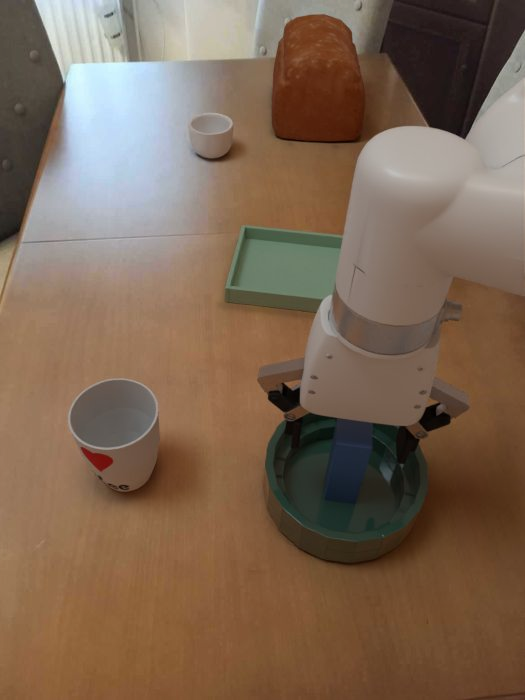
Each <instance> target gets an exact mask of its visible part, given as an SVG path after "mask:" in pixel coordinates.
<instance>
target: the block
mask: <svg viewBox="0 0 525 700" xmlns="http://www.w3.org/2000/svg"><path fill="white" fill-rule="evenodd" d="M372 435H373V423H371V422H363V421H356V420H349V419H342V418H337V422H336V427H335V431H334V436H333V441H332V446H331V451H330V456H329V460H328V465H327V470H326V480H325V493H324V499H326V500H333V501H340V502H348V503H356V501H357V498H358V495H359V491H360V488H361V484H362V481H363V478H364V474H365V471H366V468H367V464H368V461H369V458H370V454H371V451H372Z"/></svg>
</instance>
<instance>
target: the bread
mask: <svg viewBox="0 0 525 700" xmlns="http://www.w3.org/2000/svg"><path fill="white" fill-rule="evenodd" d="M359 61H360V60H359V57H358V52H357V47H356V43H354V42H353V32H352V30H351V28H350V27H349V26H348V25H347V23H345V22H344V20H342V19H340V18H337V17H335V16H331V15H328V14H326V13H318V14H317V13H316V14H314V13H313V14H306V15H301V16H300V15H299V16H296V17H294V18H293V19H291V20H289V21H288V22H286V23H285V25H284V28H283V34H282V38H281V39H280V40H278V43H277V49H276V53H275V59H274V64H273V71H272V89H271V90H272V91H271V92H272V93H271V125H272V126H271V127H272V130H273V132H274V135H275V136H277V137H279V138H281V139H289V140H297V141H305V142H306V141H307V142H348V141H355V140H356V139H358V138H359V137H360V136H361V134H362V130H363V128H364V119H365V110H366V88H365V83H364V79H363V76H362V72H361V65H360V62H359Z"/></svg>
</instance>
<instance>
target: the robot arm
mask: <svg viewBox="0 0 525 700" xmlns="http://www.w3.org/2000/svg"><path fill="white" fill-rule="evenodd" d="M342 235H343V239H342V245H341V250H340V256H339V261H338V267H337V273H336V279H335V284H334V289H333V295H329V296H327V297H326V298H325V299H324V300H323V301H322V303H321V305H320V306H319V309H318V311H317V312H315V316H314V319H313V320H312V324H311V327H310V329H309V330H310V331H309V334H308V338H307V342H306V346H305V351H304V356H303V357H300V358H294V359H291V360H285V361H280V362H276V363H270V364H266V365H262V366H260V367H259V369H258V374H257V383H258V384H259V386H260V387H261V389H262V390H263V392H264V393H265V394H267V400H268V401H269V402H270V403H271V404H273V406H275V407H276V408H277V409H278V410H280V412H282V413H283V416H282V418H283V419H284V420H286V427H285V434H289V435H292V441H291V448H293V449H296V447H297V448H299V442H300V435H301V429H302V422H303V416H305V415H307V414H309V413H314V414H317V415H322V416H328V417H335V418H342V419H349V420H356V421H363V422H371V423H378V424H387V425H396V426H400V427H399V429H398V432H397V435H396V457H397V462H399V464H405V463H406V460H407V458H408V455H409V453H410V452H415V451H416V448H417V446H418V443H420V441H421V440H424V439H426V438H428V437H429V432H432V431H435V430H438V429H441V428H444V427H446V426H449V425H450V424H451V420H453V419H456V418H458V417H460V416H461V415H462V414H464V413H466V412H467V411H469V410H470V400H469V399H470V398H469V394H468V393H467V392H465V391H463V390H461V389H459V388H457V387H455V386H454V385H451V384H450V383H448V382H446V381H445V380H442V379H441V378H439V377H436V371H437V367H438V361H439V357H440V356H439V354H440V350H441V339H442V338H441V336H442V333H441V332H442V324H443V323H444V322H449V321H452V322H453V321H454V322H459V321H460V320H461V318H462V314H463V303H462V302H460V301H452V299H451V298H447V296H448V294H449V291H450V288H451V285H452V282H453V279H454V278H456V279H457V278H458V279H460V280H461V279H462V280H465V281H468V282H472V283H476V284H477V285H482V286H485V287H489V288H492V289H495V290H498V291H502V292H505V293H509V294H512V295H517V296H521V297H525V76H524V77H523V78H521V79H520V80H519V81H518V82H516V84H514V85H513V86H512V87H511V88H509V89H508V90H507V91H505V92H504V94H502V95H501V96H500V97H499V98H498V99H496V101H494V102H493V103H492V104H491V105H490V106H489V107H488V108H487V109H486V110H485V112H483V114H482V115H481V116H480V117H479V118H478V120H477V121H476V122H475V123H474V124H473V126H471V129H470V130H469V132H468V134H467V135H466V137H465V138H463V137H461V136H460V135H459V136H458V135H456V134H455V133H451V132H449V131H446V130H443V129H440V128H435V127H431V126H423V125H404V126H403V125H402V126H396V127H391V128H388V129H386V130H384V131H381V132H378V133H377V134H375V135H373V137H372V138H371V139H369V140H368V141H367V142H366V144H365V145H364V146H363V148H362V149H361V151H360V152H359V155H358V157H357V160H356V163H355V169H354V173H353V178H352V184H351V189H350V196H349V201H348V206H347V211H346V216H345V222H344V229H343V234H342ZM295 381H299V383H297V384H295V385H293V386H291V387H289V386H288V385H287V384H286V383H289V382H295ZM429 399H432V400H433V401H436V403H434V404H431V405H428V403H429Z"/></svg>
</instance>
